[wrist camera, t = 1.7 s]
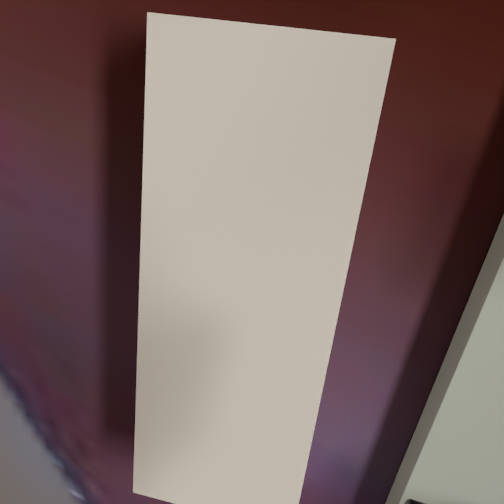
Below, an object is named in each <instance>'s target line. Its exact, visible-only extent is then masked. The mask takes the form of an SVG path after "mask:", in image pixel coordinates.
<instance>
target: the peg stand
mask: <svg viewBox="0 0 504 504" xmlns="http://www.w3.org/2000/svg"><path fill="white" fill-rule="evenodd" d="M408 499H413V500H416V501H419V502H422V503H426V504H504V214H503V217H502V219H501V222H500V224H499V226H498V229H497V231H496V234H495V236H494V239H493V241H492V244H491V246H490V248H489V251H488V253H487V256H486V258H485V261H484V263H483V266H482V268H481V270H480V273H479V275H478V278H477V280H476V283H475V285H474V288H473V290H472V292H471V295H470V297H469V300H468V302H467V305H466V307H465V310H464V312H463V314H462V317H461V319H460V322H459V324H458V327H457V329H456V332H455V334H454V336H453V339H452V341H451V344H450V346H449V349H448V351H447V354H446V356H445V358H444V361H443V363H442V366H441V368H440V371H439V373H438V376H437V378H436V380H435V383H434V385H433V388H432V390H431V393H430V395H429V398H428V400H427V402H426V405H425V407H424V410H423V412H422V415H421V417H420V420H419V422H418V424H417V427H416V429H415V432H414V434H413V437H412V439H411V442H410V444H409V446H408V449H407V451H406V454H405V456H404V459H403V461H402V464H401V466H400V468H399V471H398V473H397V476H396V478H395V481H394V483H393V486H392V488H391V490H390V493H389V495H388V498H387V500H386V503H385V504H404V503H405V501H406V500H408Z"/></svg>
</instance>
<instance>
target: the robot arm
mask: <svg viewBox="0 0 504 504" xmlns="http://www.w3.org/2000/svg"><path fill="white" fill-rule="evenodd" d="M404 504H426V503H422V502H419V501H416V500H413V499H408V500H406V501H405V503H404Z"/></svg>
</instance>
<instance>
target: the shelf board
mask: <svg viewBox="0 0 504 504" xmlns="http://www.w3.org/2000/svg"><path fill="white" fill-rule="evenodd" d="M395 41H396V39H393V38H383V37H374V36H365V35H355V34H346V33H337V32H327V31H318V30H309V29H300V28H290V27H281V26H272V25H262V24H253V23H244V22H234V21H225V20H216V19H206V18H197V17H188V16H178V15H169V14H160V13H150V12H147V38H146V72H145V105H144V139H143V173H142V206H141V240H140V273H139V307H138V340H137V374H136V408H135V441H134V475H133V493H137V494H141V495H145V496H148V497H152V498H156V499H159V500H163V501H167V502H171V503H174V504H299V500H300V495H301V491H302V486H303V481H304V476H305V472H306V467H307V462H308V457H309V452H310V448H311V443H312V438H313V433H314V429H315V424H316V419H317V414H318V409H319V405H320V400H321V395H322V390H323V386H324V381H325V376H326V371H327V366H328V362H329V357H330V352H331V347H332V343H333V338H334V333H335V328H336V323H337V319H338V314H339V309H340V304H341V300H342V295H343V290H344V285H345V280H346V276H347V271H348V266H349V261H350V257H351V252H352V247H353V242H354V237H355V233H356V228H357V223H358V218H359V214H360V209H361V204H362V199H363V194H364V190H365V185H366V180H367V175H368V171H369V166H370V161H371V156H372V151H373V147H374V142H375V137H376V132H377V128H378V123H379V118H380V113H381V108H382V104H383V99H384V94H385V89H386V84H387V80H388V75H389V70H390V65H391V61H392V56H393V51H394V46H395Z"/></svg>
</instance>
